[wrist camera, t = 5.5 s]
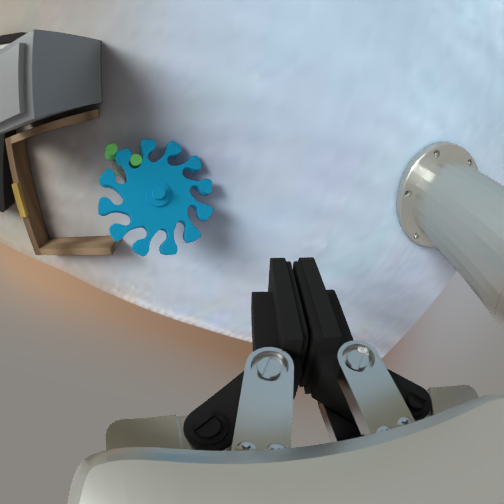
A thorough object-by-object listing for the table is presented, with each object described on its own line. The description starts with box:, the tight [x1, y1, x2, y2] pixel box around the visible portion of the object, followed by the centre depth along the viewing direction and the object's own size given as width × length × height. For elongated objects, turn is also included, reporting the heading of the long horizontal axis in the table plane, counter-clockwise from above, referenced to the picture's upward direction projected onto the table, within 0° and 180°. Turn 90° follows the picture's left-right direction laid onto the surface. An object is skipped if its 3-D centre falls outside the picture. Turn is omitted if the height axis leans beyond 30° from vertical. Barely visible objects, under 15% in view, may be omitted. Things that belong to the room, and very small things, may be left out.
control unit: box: [0, 29, 102, 135], centre depth 13 cm, size 10×7×11 cm
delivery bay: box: [5, 109, 120, 255], centre depth 23 cm, size 12×14×3 cm
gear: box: [98, 139, 213, 256], centre depth 23 cm, size 11×6×10 cm
